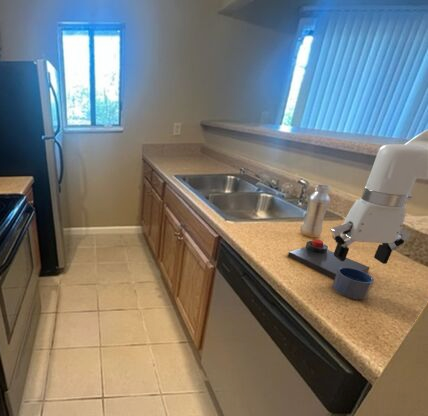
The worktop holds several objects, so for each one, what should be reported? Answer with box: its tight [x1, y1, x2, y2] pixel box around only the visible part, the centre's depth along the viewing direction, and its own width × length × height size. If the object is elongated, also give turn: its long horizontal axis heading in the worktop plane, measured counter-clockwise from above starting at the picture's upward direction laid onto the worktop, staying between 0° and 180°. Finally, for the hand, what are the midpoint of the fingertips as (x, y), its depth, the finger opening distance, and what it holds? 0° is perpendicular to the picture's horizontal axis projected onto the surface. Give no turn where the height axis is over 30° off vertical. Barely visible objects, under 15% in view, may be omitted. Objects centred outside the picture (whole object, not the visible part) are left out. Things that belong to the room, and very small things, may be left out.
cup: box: [332, 267, 374, 300], centre depth 74 cm, size 7×7×6 cm
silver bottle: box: [300, 184, 331, 238], centre depth 103 cm, size 6×7×20 cm
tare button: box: [312, 238, 324, 247], centre depth 92 cm, size 3×3×2 cm
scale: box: [287, 240, 370, 280], centre depth 87 cm, size 16×13×4 cm
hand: (359, 259), depth 71 cm, fingers open, 9 cm apart
